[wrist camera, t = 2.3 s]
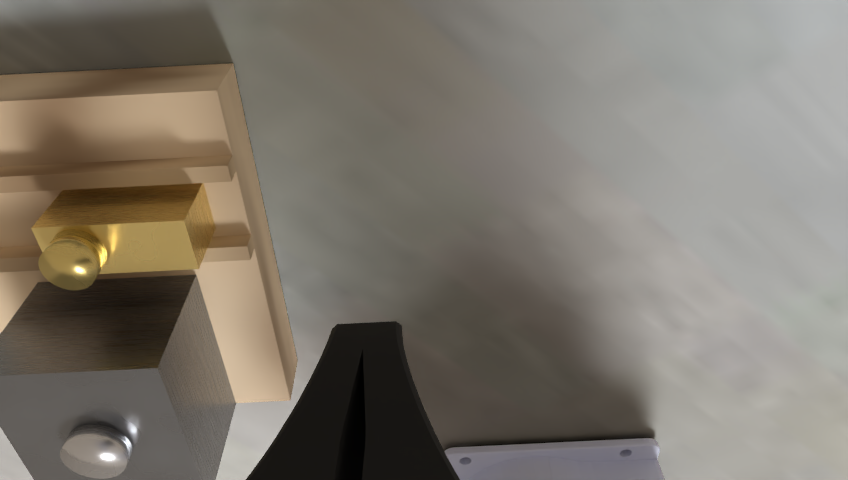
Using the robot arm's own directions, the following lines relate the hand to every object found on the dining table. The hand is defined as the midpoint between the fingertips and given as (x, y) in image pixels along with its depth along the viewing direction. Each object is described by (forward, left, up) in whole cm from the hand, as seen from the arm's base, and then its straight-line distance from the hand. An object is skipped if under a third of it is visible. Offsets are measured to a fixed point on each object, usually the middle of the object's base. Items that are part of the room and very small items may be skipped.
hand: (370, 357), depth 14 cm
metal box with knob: (+8, +6, -6) cm, 12 cm away
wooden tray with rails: (+8, +3, -8) cm, 12 cm away
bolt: (+7, 0, -6) cm, 10 cm away
